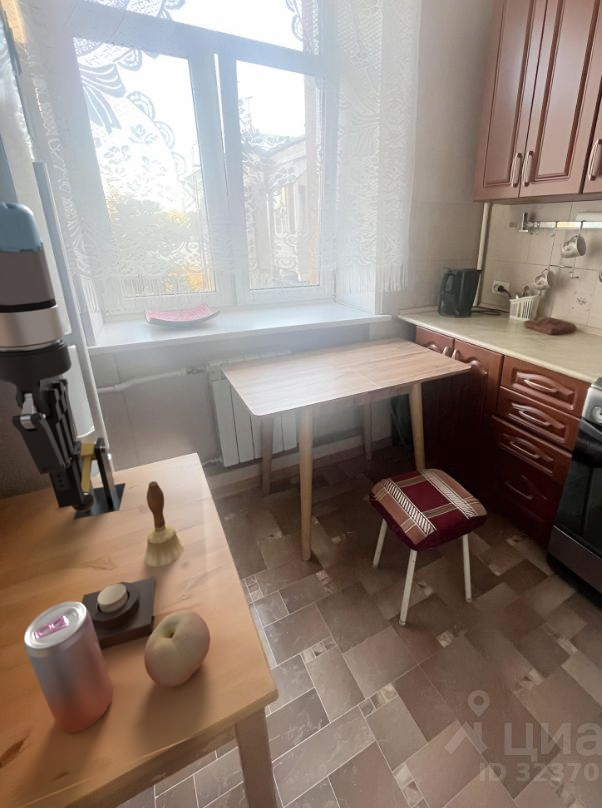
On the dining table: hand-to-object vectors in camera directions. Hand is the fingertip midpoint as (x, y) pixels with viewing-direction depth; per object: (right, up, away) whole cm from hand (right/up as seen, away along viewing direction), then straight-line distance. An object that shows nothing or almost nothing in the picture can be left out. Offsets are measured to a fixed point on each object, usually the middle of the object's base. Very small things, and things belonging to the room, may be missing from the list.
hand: (72, 502), depth 56 cm
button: (+4, -16, +3) cm, 17 cm away
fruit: (+16, -22, -2) cm, 28 cm away
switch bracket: (-14, -9, +28) cm, 33 cm away
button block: (+4, -19, +4) cm, 20 cm away
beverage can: (+7, -24, -6) cm, 26 cm away
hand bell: (+5, -15, +16) cm, 22 cm away
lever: (-12, -2, +21) cm, 25 cm away
